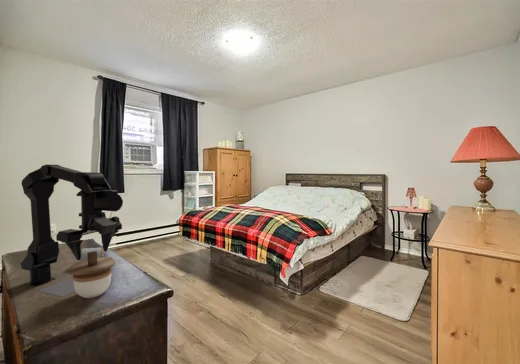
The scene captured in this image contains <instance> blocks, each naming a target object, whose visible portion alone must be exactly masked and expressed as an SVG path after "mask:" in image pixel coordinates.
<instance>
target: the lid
mask: <svg viewBox="0 0 520 364" xmlns="http://www.w3.org/2000/svg"><path fill="white" fill-rule="evenodd" d="M87 255H88V260H85V261H81V260H80V261H79V262H75V263H74V264H71V265H70V266H69V267H68V268H67V274H69V275H72V276H73V275H87V274H93V273H98V272H101V271H104V270H107V269H109V268H112V267H114V266H116V265H115V264H116V259H115V258H113V257H104V258H97V252H96V251H94V252H89V253H87Z"/></svg>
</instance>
